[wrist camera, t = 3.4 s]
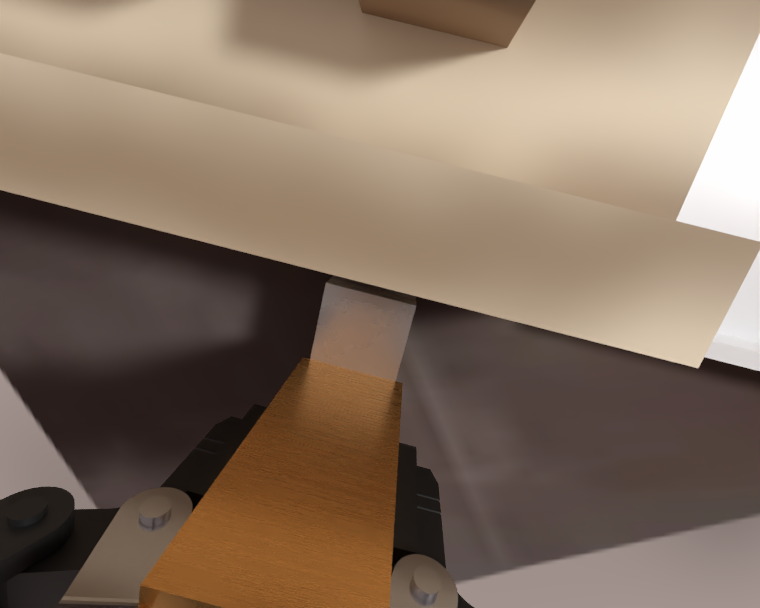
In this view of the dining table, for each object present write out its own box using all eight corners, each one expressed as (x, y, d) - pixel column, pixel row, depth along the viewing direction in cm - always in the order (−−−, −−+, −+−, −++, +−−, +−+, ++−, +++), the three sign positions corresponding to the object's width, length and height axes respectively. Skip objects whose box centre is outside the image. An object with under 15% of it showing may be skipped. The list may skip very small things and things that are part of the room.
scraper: (341, 262, 16) (155, 413, 4) (421, 282, 16) (443, 490, 4) (302, 440, 18) (118, 837, 7) (372, 458, 18) (303, 890, 7)
